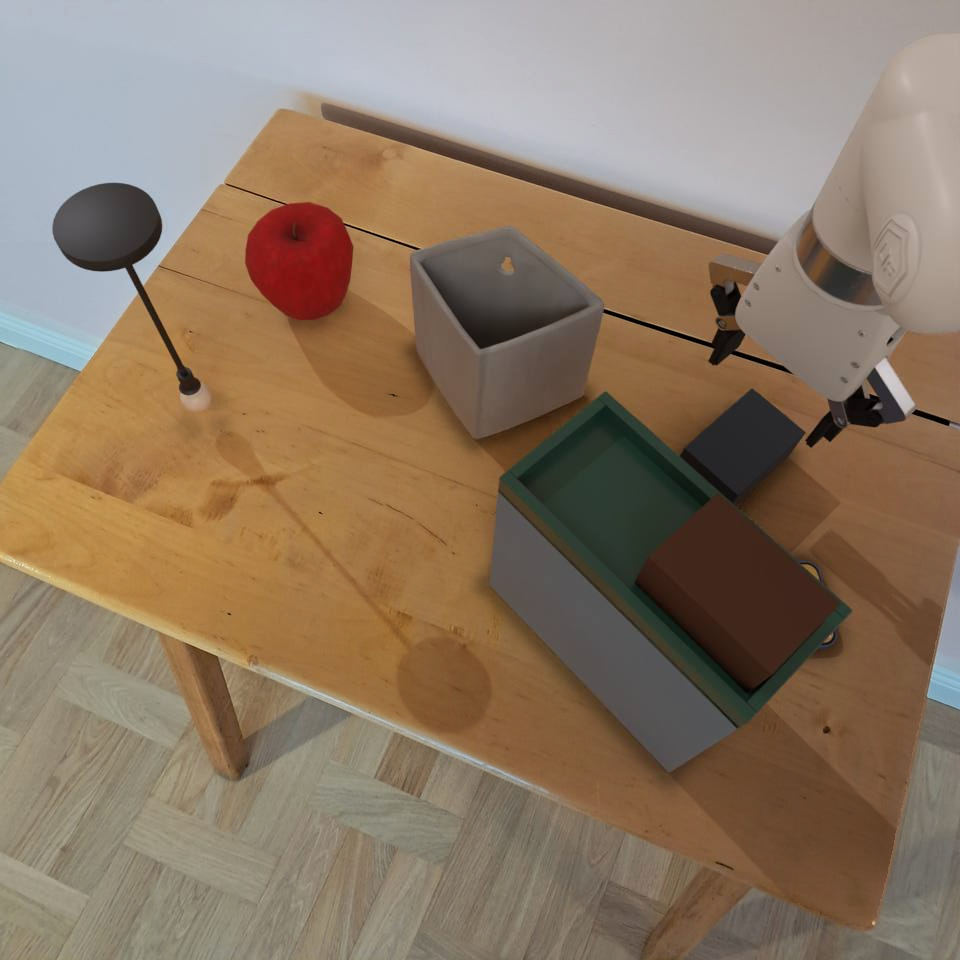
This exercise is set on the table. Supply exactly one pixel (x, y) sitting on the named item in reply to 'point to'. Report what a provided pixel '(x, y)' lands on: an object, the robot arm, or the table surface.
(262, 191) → the table surface
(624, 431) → the box
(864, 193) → the robot arm
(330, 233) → the apple
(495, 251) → the planter
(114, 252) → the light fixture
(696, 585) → the brown block
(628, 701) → the stand
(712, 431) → the dark grey rectangular block
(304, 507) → the table surface
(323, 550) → the table surface
